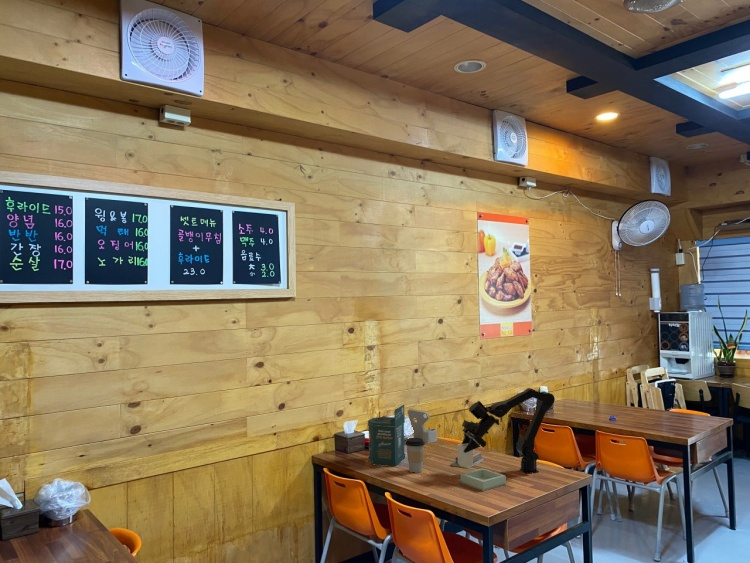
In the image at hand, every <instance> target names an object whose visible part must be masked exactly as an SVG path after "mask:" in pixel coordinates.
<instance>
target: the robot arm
mask: <svg viewBox="0 0 750 563" xmlns="http://www.w3.org/2000/svg"><path fill="white" fill-rule="evenodd" d="M532 398H534V399H536V407H535V411H534V413H533V416H532V417H531V420H530V421H529V422H530V423H529V425H528V428H527V430H526V432H525V434H524V436H522V437H521V436H519V437H518V439H517V442H516V443H515V445H516V450H517V451H516V452H518V453H519V455H520V456H521V461H520V468H519V471H521V472H524V473H526V474H533V473H534V474H535V473H539V470H538V469H537V468H538V467H537V461H538V458H539V455H538V454H537V453H536V452H535V451H534V450H535V446H536V445H535V441H536V440H535V439H536V436H537V435H538V432H539V429H540V427H541V425H542V422H543V420H544V419H545V415H546V413H547V412H548V411H549V410H550V409H551V408H552V406H553V405H554V404H555V401H556V398H555V395H554V394H552V393H550V392H547V391H544V390H543V391H537V390H535V389H533V388H532V387H531V388H530V387H527V388H526V389H524V390H523V391H521V392H519V393H517V394H516V395H514V396H511V397H509V398H508V399H505V400H503V401H498V402H495V403H492V404H491V405H489V406H485V405H484V404H483V403H482V402H481V401H480V400H477V402H474V403H473V404H471V405H470V407H469V408H468V411H469V413H471V415H473V416H474V417H475V418H476V419H477V420H479V421H478V422H474V421H472V420H471V421H468V420H466V419H463V422H462V425H461V427H463V429H461V430H462V432H463V440H462V441H461V444H468V445H467V446H466V448H465V449H464V453H466V452H469V451H471V450H473V451H474V450H476V449H478V448H481V447H482V448H485V447H486V446H487V442H486V440H484V437H485V435H486V434H489V430H490V429H491V428H492V427H493V426H494V425H497V426H500V419H501V418H504V417H505V416H506V415H507V414H508V413H509V412H510V410H512V409H513V408H516V407H517V406H519V405H520V404H523V403H524V402H526V401H528V400H530V399H532ZM495 417H496V418H495Z"/></svg>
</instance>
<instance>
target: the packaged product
mask: <svg viewBox="0 0 750 563" xmlns="http://www.w3.org/2000/svg"><path fill="white" fill-rule="evenodd" d="M485 461H486V458H482V452H480V451H478V450H473V466H465V467H461V466H460V465H459V464H458V455H457V456H456V457H455V460H454V461H452V462H450V466H451V467H452V466H453V467H458V468H464V469H470V468H472V467H475V466H476V464H477V465H478V463H479V464H480V462H481V463H482V462H485Z"/></svg>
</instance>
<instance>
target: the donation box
mask: <svg viewBox="0 0 750 563" xmlns="http://www.w3.org/2000/svg"><path fill="white" fill-rule="evenodd" d="M393 412H394V413H393V414H394V417H393V416H379V417H377V416H376V417H372V418H370V419H369V420H367V426H368V461H367V462H368V463H369V464H372V465H373V464H375V466H382V465H388V466H387V467H393V466H396V467H397V466H398V465H399V464H400V463H402V462H403V461H404V460H405V459H406V453H405V420H406V419H405V404H402V405H401V406H399V407H397V408H395V409H394V411H393ZM402 460H403V461H402ZM401 461H402V462H401Z"/></svg>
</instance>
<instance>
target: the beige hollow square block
mask: <svg viewBox="0 0 750 563" xmlns="http://www.w3.org/2000/svg"><path fill="white" fill-rule="evenodd" d="M467 445H468V444H462V443H458V444H457V447H456V448H457V456H458V464H459V465H460V466H461V467H460V468H463V467H465V466H472V467H474V466H473V451H474V449H473V450H471V451H469V452H466V453H464V449H465V448H466V446H467Z"/></svg>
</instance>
